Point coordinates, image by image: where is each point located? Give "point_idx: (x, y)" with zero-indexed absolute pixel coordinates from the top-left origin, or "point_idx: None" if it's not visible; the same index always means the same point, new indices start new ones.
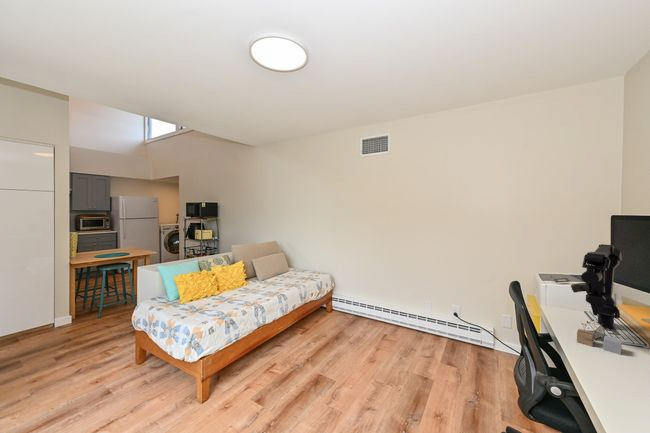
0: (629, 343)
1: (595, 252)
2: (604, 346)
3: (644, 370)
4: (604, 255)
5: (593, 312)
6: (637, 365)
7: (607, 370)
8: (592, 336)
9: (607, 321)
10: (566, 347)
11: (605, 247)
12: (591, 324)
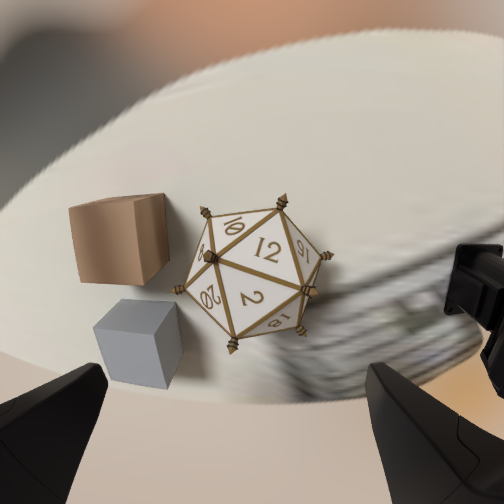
0: (312, 371)
1: None
2: (113, 310)
3: None
4: None
5: (63, 379)
6: None
7: (7, 303)
8: (83, 281)
9: (468, 310)
10: (31, 184)
11: None
12: (212, 279)
